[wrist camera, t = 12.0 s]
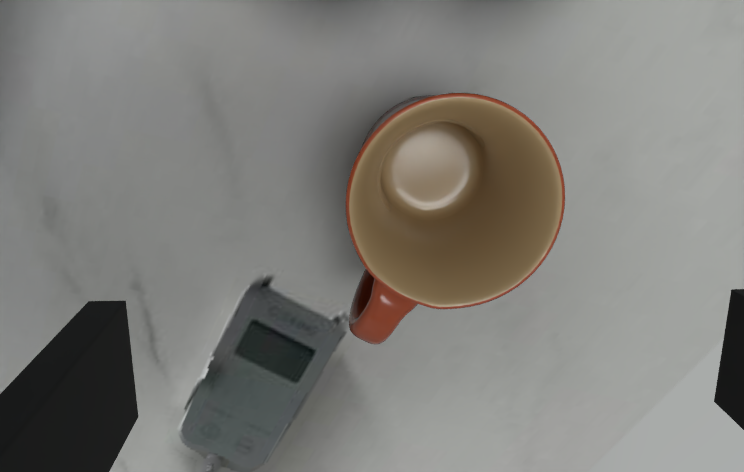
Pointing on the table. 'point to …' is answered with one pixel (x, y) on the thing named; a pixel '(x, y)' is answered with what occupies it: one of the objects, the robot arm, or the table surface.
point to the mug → (449, 207)
